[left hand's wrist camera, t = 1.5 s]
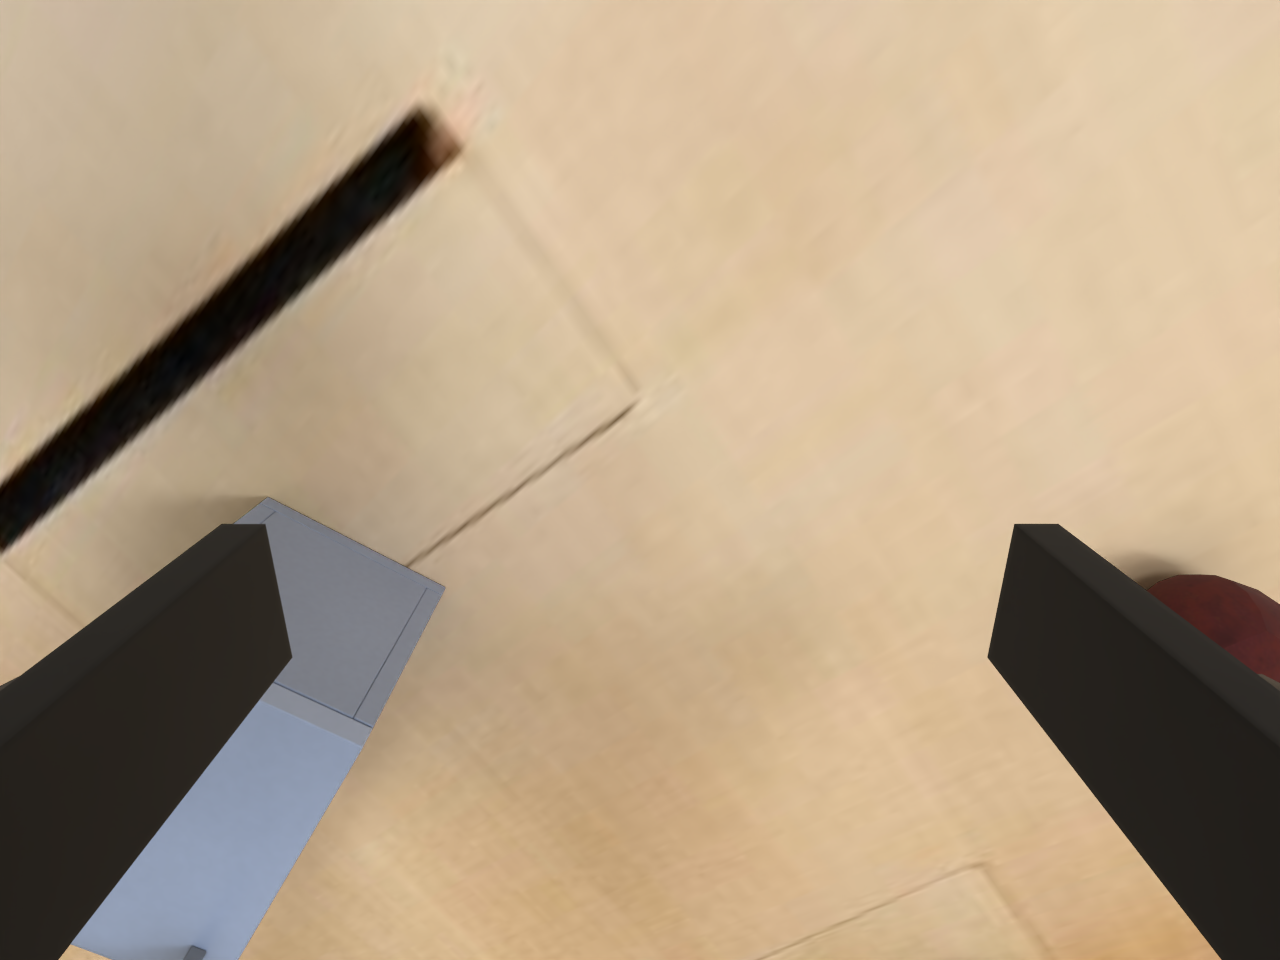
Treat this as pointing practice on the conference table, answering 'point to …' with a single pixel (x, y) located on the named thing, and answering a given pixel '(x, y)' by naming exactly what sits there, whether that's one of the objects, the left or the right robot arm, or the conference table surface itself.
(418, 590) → the chest
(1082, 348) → the conference table surface
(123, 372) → the conference table surface
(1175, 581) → the dark red ball
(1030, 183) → the conference table surface
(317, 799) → the lid
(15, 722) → the left robot arm
